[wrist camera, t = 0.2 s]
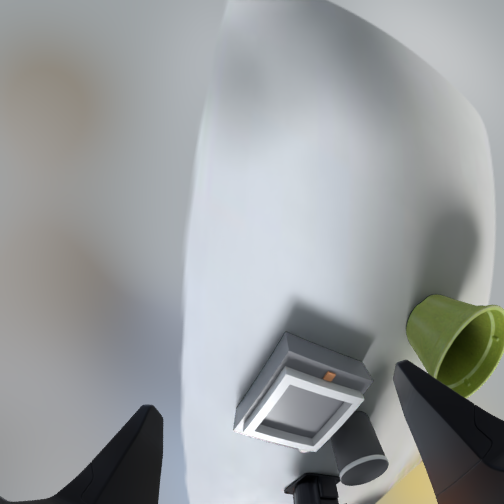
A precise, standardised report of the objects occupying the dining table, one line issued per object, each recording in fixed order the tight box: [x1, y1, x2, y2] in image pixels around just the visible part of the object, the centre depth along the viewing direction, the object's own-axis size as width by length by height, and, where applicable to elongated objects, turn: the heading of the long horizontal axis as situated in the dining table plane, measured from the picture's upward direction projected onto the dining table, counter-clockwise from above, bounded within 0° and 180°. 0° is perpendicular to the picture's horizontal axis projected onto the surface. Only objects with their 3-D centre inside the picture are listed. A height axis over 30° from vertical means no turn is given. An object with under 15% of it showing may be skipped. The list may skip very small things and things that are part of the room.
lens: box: [331, 411, 389, 486], centre depth 22 cm, size 5×5×8 cm
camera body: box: [233, 332, 373, 453], centre depth 23 cm, size 11×9×5 cm
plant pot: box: [406, 295, 504, 398], centre depth 19 cm, size 9×9×9 cm
